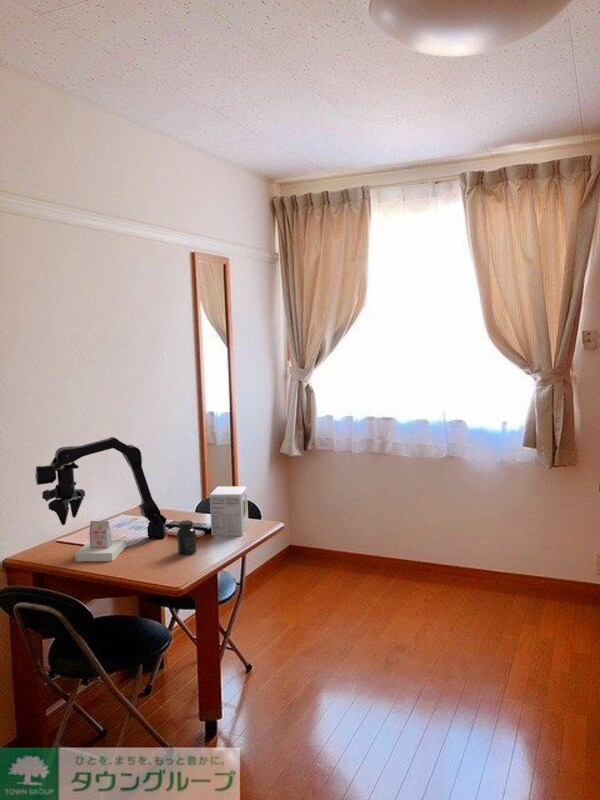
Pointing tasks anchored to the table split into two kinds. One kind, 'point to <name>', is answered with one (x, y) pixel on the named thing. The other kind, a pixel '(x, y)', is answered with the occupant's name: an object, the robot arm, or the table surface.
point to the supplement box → (229, 511)
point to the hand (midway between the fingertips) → (68, 521)
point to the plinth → (100, 552)
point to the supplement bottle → (186, 538)
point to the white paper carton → (100, 534)
